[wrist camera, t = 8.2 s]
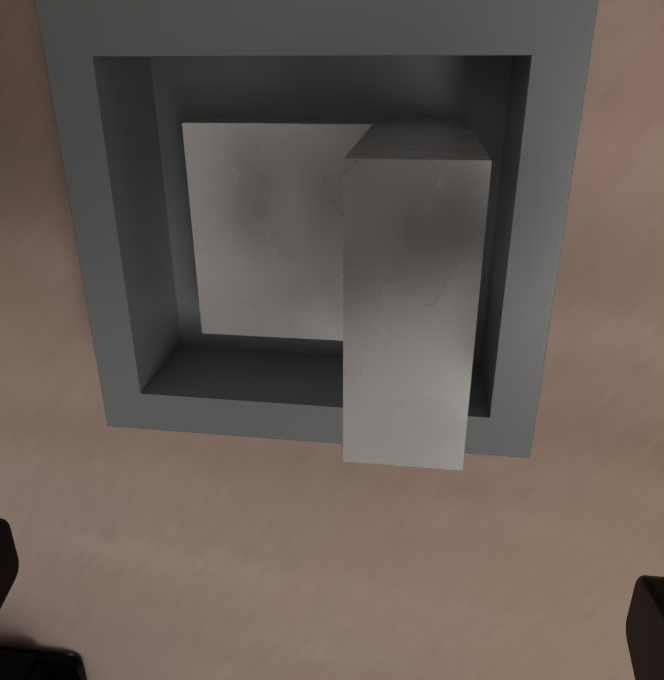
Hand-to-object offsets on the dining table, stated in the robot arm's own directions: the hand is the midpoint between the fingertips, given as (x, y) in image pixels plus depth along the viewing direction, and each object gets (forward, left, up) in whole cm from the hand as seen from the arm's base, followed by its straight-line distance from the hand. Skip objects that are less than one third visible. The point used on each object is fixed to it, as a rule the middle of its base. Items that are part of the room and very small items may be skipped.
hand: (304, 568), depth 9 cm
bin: (+2, +1, -13) cm, 13 cm away
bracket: (+2, +1, -12) cm, 12 cm away
